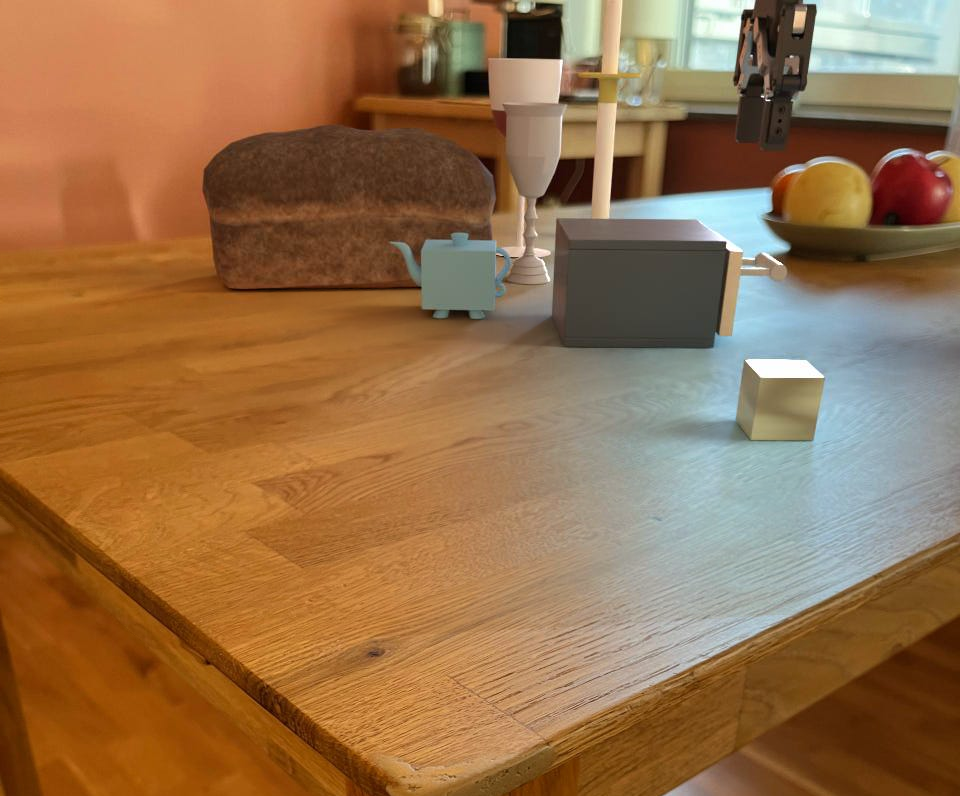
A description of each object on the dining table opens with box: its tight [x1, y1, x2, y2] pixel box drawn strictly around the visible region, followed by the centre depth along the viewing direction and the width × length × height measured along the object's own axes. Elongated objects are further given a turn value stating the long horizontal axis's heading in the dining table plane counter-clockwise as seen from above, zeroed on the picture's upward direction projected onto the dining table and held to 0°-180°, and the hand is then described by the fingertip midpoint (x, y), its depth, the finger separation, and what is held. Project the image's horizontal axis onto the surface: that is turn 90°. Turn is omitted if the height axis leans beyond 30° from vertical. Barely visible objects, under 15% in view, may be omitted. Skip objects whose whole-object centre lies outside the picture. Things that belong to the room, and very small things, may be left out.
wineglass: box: [487, 57, 563, 258], centre depth 127 cm, size 9×10×22 cm
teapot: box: [389, 233, 512, 320], centre depth 101 cm, size 12×6×8 cm, turn 89°
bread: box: [201, 123, 497, 290], centre depth 113 cm, size 15×32×16 cm, turn 98°
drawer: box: [712, 230, 788, 337], centre depth 95 cm, size 17×11×7 cm, turn 91°
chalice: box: [502, 102, 568, 285], centre depth 113 cm, size 7×7×18 cm
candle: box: [576, 0, 643, 219], centre depth 135 cm, size 10×10×38 cm
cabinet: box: [551, 217, 727, 349], centre depth 95 cm, size 14×13×9 cm
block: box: [735, 359, 826, 441], centre depth 71 cm, size 4×4×4 cm
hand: (758, 146), depth 89 cm, fingers open, 8 cm apart
